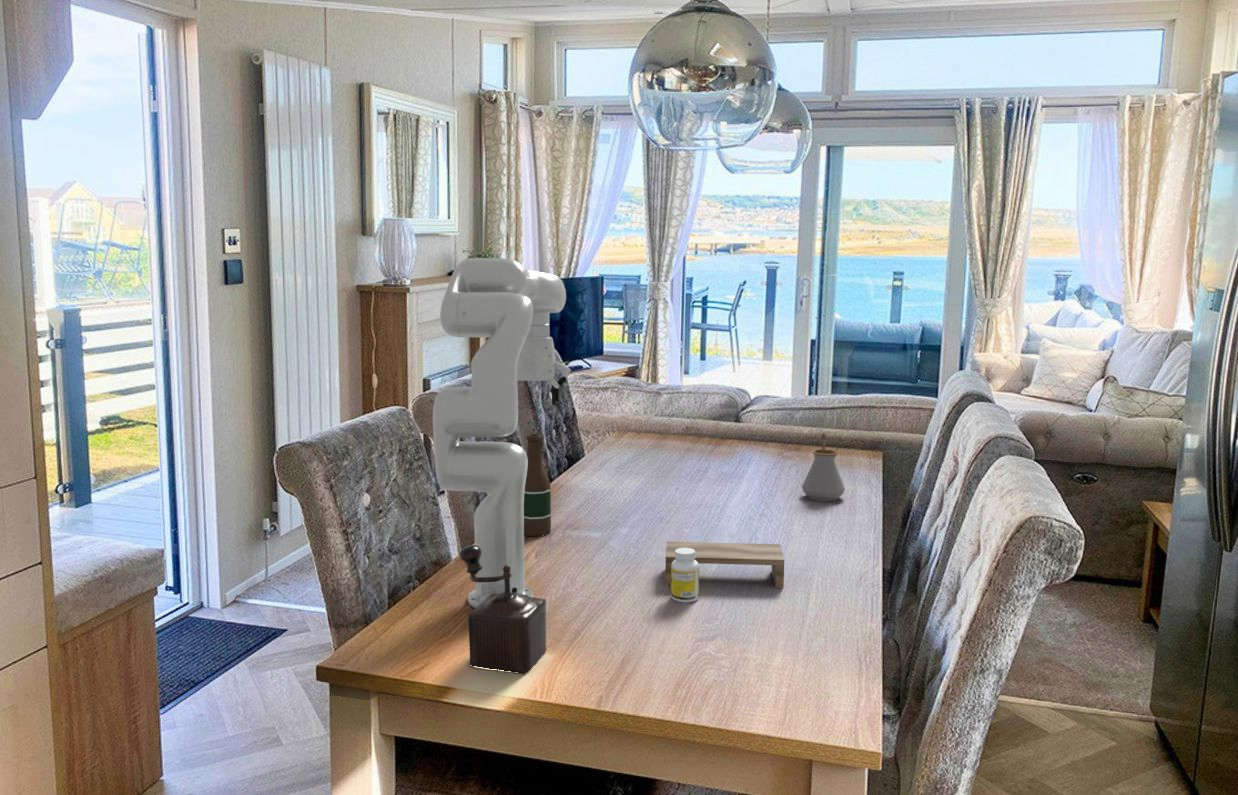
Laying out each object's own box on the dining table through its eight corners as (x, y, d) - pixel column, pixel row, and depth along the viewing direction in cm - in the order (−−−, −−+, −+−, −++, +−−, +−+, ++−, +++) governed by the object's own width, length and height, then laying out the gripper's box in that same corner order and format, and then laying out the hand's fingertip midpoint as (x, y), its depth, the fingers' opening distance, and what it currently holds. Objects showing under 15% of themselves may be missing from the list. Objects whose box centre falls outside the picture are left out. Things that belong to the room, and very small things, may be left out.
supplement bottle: (681, 591, 196) (682, 544, 195) (703, 597, 193) (704, 550, 191) (665, 598, 192) (666, 551, 190) (688, 605, 189) (688, 557, 187)
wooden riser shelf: (783, 588, 198) (784, 559, 197) (665, 584, 200) (665, 556, 199) (779, 571, 208) (779, 544, 207) (666, 568, 209) (666, 541, 208)
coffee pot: (845, 504, 259) (847, 449, 257) (801, 502, 261) (803, 447, 259) (842, 484, 280) (844, 433, 277) (801, 482, 282) (803, 431, 279)
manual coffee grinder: (550, 648, 169) (549, 548, 166) (526, 675, 159) (525, 570, 156) (467, 637, 174) (465, 540, 171) (440, 664, 163) (436, 561, 160)
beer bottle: (546, 538, 230) (545, 438, 226) (514, 536, 231) (513, 437, 227) (555, 528, 237) (554, 432, 233) (524, 526, 239) (523, 430, 235)
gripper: (493, 333, 224) (495, 406, 227) (568, 333, 223) (568, 407, 226) (499, 329, 231) (501, 400, 234) (572, 330, 230) (572, 401, 233)
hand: (534, 403), depth 230 cm, fingers open, 9 cm apart
